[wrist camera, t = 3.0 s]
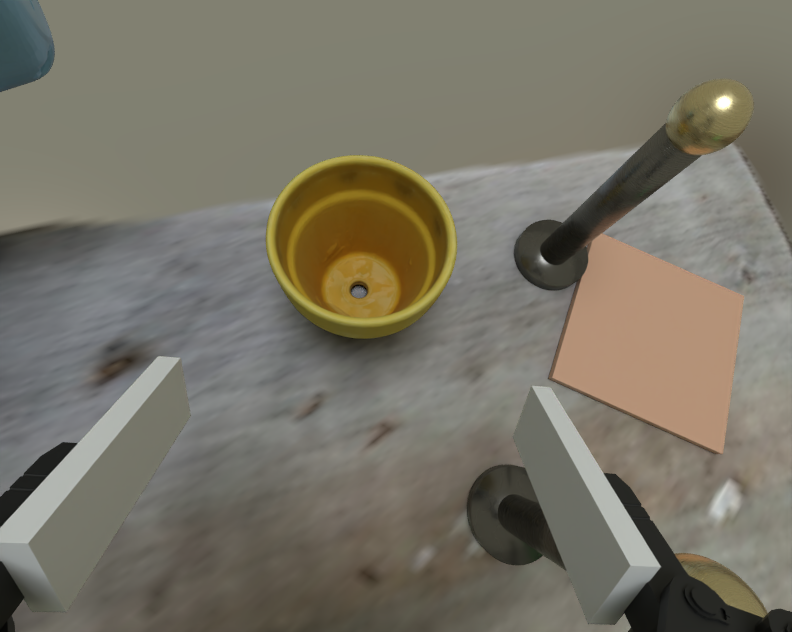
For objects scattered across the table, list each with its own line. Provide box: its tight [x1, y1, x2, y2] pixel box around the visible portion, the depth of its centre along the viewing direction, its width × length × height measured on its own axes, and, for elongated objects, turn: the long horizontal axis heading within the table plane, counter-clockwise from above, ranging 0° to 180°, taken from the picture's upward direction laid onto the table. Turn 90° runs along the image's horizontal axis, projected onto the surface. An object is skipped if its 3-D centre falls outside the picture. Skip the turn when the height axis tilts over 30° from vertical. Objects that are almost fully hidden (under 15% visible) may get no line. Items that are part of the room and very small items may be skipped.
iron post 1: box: [514, 79, 754, 290], centre depth 24 cm, size 6×6×17 cm
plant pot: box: [266, 155, 457, 339], centre depth 25 cm, size 10×10×10 cm
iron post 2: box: [467, 465, 768, 617], centre depth 18 cm, size 6×6×17 cm
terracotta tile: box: [548, 233, 744, 454], centre depth 31 cm, size 14×14×1 cm
